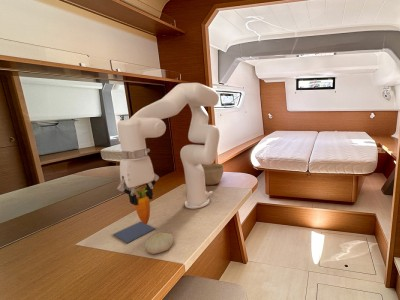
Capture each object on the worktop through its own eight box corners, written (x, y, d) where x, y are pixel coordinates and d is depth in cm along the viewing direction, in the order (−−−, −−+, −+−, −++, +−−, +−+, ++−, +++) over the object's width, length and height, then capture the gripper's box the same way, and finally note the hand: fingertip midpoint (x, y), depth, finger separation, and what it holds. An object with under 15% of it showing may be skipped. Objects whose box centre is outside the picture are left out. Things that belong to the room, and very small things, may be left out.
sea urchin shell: (158, 232, 86) (167, 222, 83) (171, 248, 85) (180, 238, 82) (137, 246, 78) (146, 236, 74) (151, 264, 77) (161, 254, 74)
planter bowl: (208, 177, 155) (207, 162, 152) (228, 179, 150) (227, 164, 147) (194, 185, 140) (192, 169, 137) (216, 188, 135) (215, 171, 132)
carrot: (149, 219, 87) (144, 184, 84) (155, 223, 84) (150, 187, 81) (136, 225, 83) (130, 188, 80) (141, 229, 80) (135, 191, 77)
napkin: (140, 222, 98) (140, 221, 97) (155, 229, 92) (155, 228, 92) (113, 234, 88) (113, 234, 88) (127, 243, 83) (127, 242, 83)
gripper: (152, 148, 87) (157, 191, 91) (102, 158, 73) (111, 208, 76) (163, 150, 83) (168, 195, 87) (113, 161, 69) (122, 213, 73)
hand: (142, 200), depth 82 cm, fingers closed on carrot, 5 cm apart
